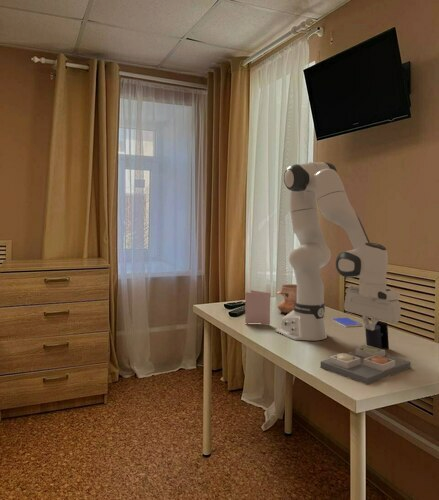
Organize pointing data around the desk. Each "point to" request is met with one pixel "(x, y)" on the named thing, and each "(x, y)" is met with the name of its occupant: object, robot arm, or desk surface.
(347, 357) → the sand button
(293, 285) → the ceramic jug
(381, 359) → the terracotta button
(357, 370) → the button console
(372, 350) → the sage button
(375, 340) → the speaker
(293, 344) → the desk surface
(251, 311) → the greeting card
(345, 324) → the hard drive
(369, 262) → the robot arm
